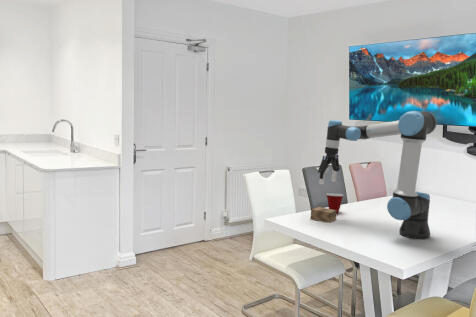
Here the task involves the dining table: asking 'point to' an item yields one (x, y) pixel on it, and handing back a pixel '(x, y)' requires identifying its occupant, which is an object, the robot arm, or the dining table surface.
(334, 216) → the brown wooden block
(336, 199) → the plastic cup
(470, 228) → the dining table surface
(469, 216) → the dining table surface
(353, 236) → the dining table surface
